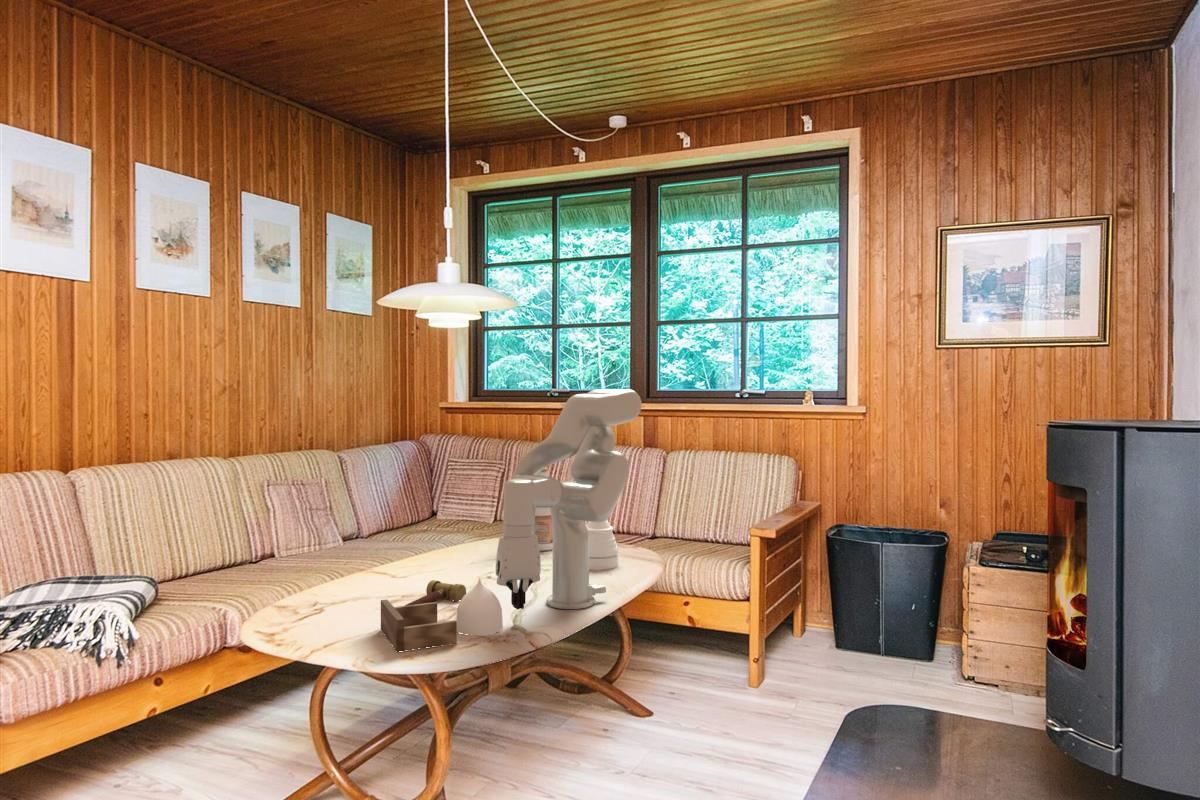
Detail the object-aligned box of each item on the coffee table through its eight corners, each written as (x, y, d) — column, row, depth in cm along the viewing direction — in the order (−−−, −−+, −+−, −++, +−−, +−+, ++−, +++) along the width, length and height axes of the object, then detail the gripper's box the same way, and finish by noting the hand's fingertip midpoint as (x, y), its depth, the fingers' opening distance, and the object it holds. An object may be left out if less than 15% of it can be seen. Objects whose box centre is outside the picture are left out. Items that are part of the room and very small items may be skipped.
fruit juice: (522, 547, 275) (522, 467, 274) (545, 544, 281) (545, 465, 280) (537, 552, 267) (537, 469, 267) (560, 549, 273) (560, 468, 273)
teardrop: (460, 621, 191) (460, 571, 190) (506, 621, 191) (506, 572, 190) (451, 636, 180) (451, 583, 179) (500, 636, 180) (500, 584, 179)
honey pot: (577, 560, 257) (577, 504, 256) (617, 560, 257) (617, 504, 257) (577, 569, 244) (578, 511, 243) (619, 569, 244) (619, 511, 244)
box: (436, 622, 189) (436, 593, 189) (456, 644, 174) (456, 612, 174) (380, 630, 183) (380, 600, 183) (396, 652, 168) (396, 620, 168)
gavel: (414, 607, 192) (382, 602, 196) (414, 626, 192) (383, 620, 196) (466, 582, 210) (436, 578, 215) (467, 599, 211) (437, 594, 215)
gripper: (541, 526, 196) (541, 600, 196) (484, 530, 189) (483, 607, 189) (554, 531, 189) (553, 608, 189) (494, 536, 182) (493, 615, 182)
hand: (518, 607), depth 189 cm, fingers closed
